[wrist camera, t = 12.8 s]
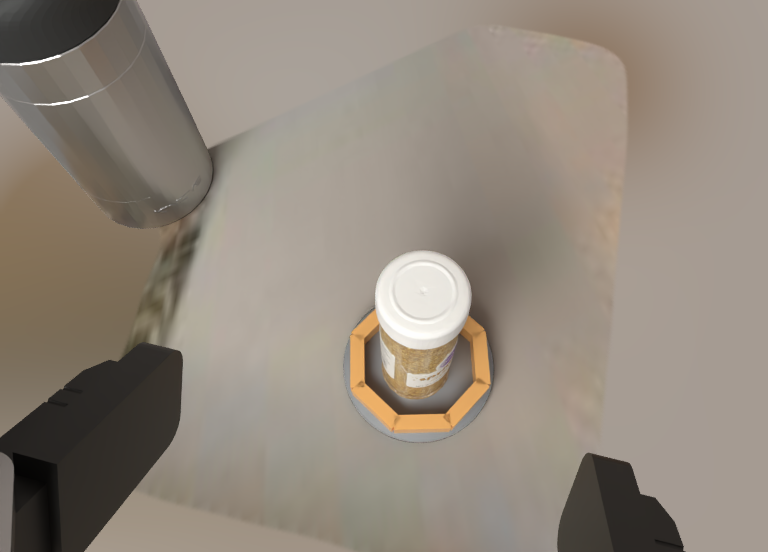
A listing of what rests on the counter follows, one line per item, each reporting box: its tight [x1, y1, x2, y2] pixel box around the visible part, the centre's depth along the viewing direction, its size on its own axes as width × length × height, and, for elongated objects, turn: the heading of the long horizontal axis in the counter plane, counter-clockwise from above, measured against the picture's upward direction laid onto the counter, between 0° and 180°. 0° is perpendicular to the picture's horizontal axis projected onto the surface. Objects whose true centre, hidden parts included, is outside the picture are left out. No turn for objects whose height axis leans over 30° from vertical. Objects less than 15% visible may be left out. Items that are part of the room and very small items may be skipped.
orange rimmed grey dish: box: [343, 308, 494, 443], centre depth 40 cm, size 10×10×2 cm
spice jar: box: [375, 250, 472, 399], centre depth 34 cm, size 5×5×14 cm
